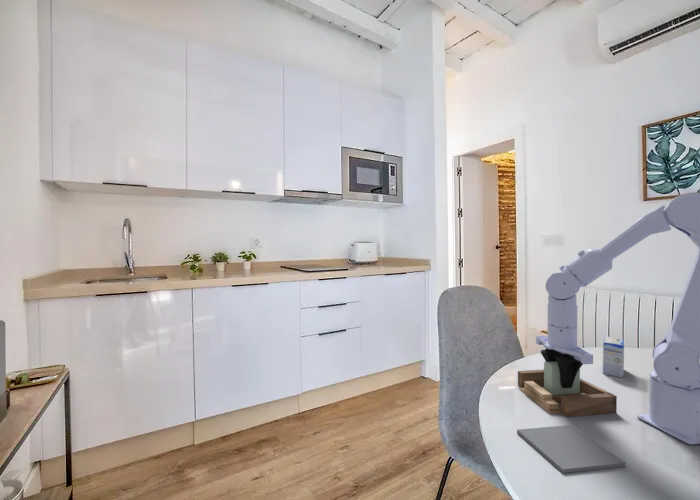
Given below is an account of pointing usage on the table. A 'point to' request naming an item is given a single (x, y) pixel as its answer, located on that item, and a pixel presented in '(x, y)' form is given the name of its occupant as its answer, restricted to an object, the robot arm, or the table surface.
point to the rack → (576, 396)
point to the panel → (558, 380)
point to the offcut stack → (540, 397)
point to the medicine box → (613, 356)
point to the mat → (570, 449)
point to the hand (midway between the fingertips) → (561, 384)
